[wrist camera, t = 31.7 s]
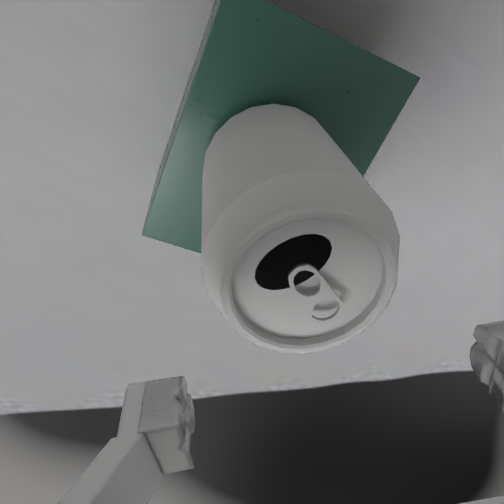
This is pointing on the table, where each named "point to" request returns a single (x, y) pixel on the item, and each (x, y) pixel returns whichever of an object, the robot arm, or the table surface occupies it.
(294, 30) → the tin lid
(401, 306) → the table surface
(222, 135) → the can
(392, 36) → the table surface
